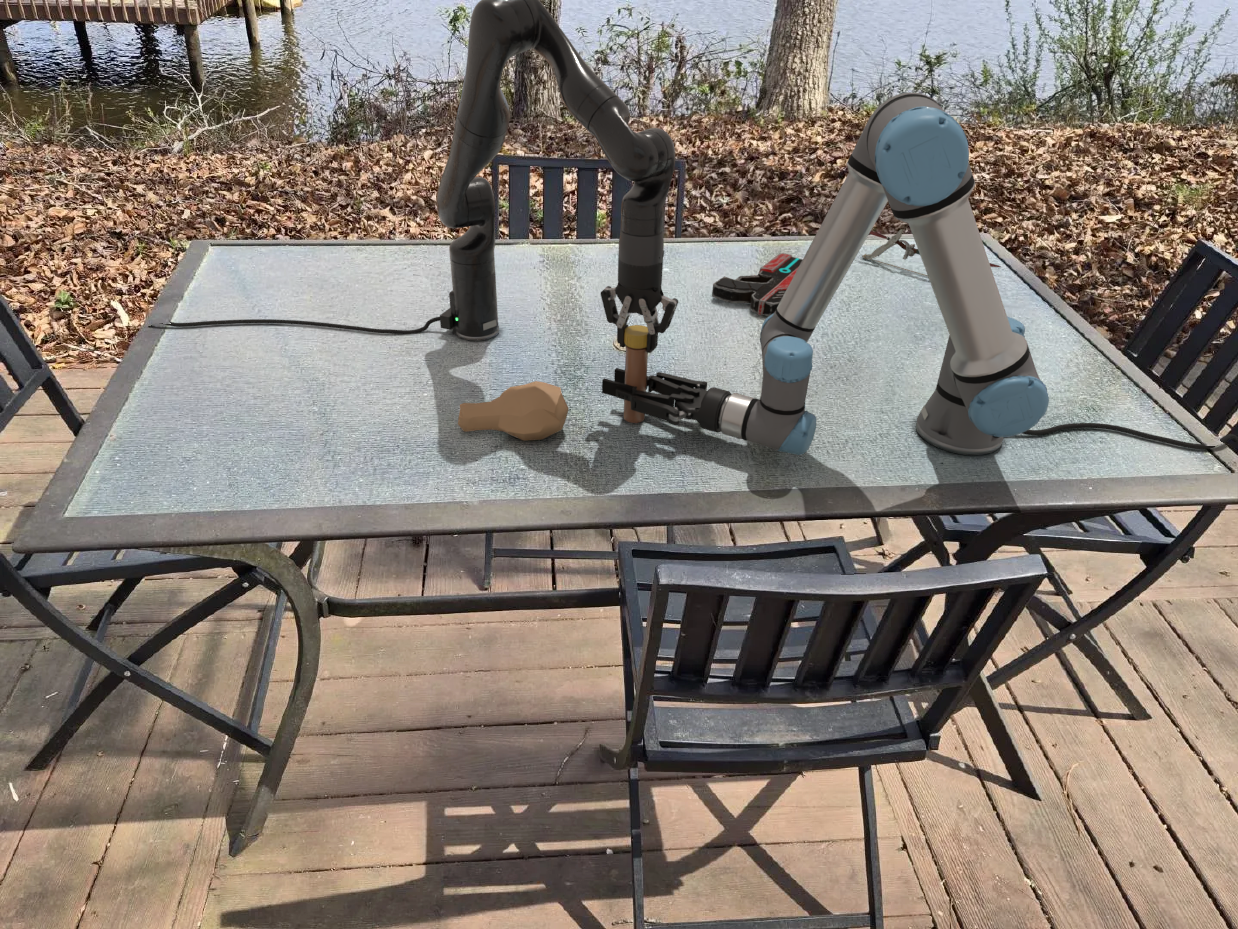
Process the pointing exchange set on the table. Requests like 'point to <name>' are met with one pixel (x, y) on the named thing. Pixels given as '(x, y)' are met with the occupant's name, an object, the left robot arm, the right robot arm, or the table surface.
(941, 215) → the right robot arm
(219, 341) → the table surface
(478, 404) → the squash
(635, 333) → the lid
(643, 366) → the jar
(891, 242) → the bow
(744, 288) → the gun
